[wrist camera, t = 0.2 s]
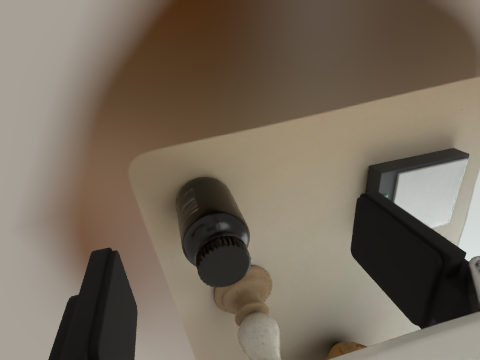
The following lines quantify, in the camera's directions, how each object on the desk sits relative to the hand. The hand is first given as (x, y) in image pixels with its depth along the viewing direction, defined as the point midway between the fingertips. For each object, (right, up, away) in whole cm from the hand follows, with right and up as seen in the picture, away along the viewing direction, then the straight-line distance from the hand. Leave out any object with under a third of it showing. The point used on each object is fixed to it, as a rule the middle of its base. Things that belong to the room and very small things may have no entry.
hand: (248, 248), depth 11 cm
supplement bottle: (-5, 0, +25) cm, 25 cm away
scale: (+25, +1, +33) cm, 41 cm away
